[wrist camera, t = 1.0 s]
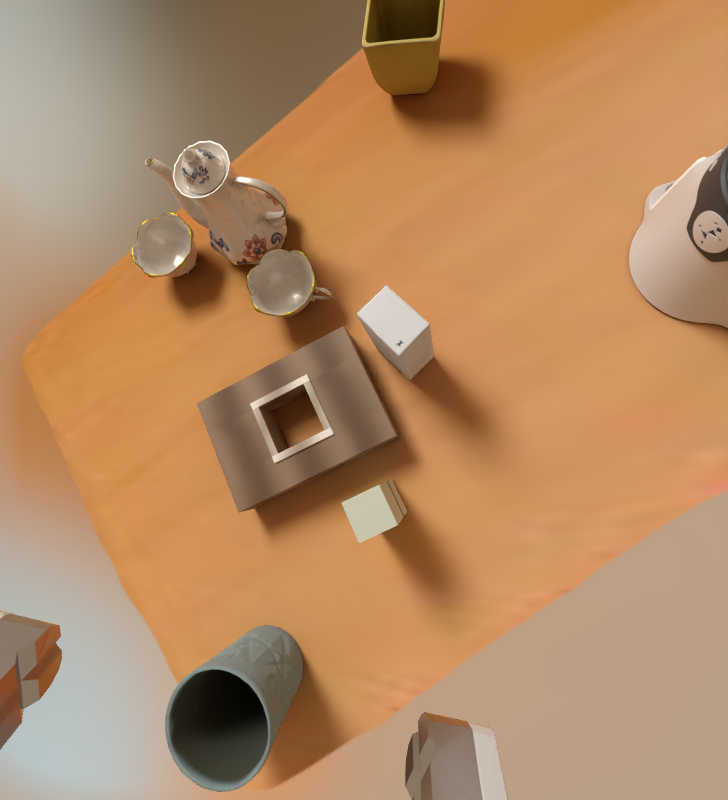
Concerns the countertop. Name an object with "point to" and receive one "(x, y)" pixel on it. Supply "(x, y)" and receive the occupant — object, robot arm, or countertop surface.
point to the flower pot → (403, 43)
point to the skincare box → (398, 332)
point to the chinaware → (228, 230)
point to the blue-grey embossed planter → (234, 709)
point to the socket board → (260, 432)
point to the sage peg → (375, 510)
